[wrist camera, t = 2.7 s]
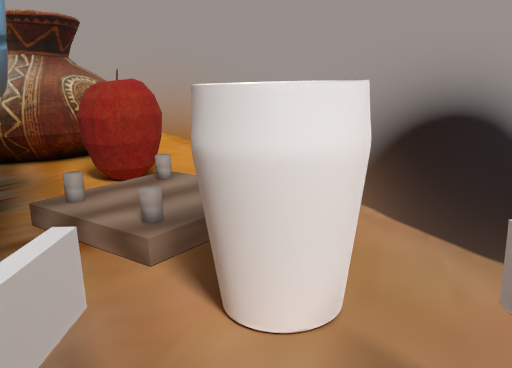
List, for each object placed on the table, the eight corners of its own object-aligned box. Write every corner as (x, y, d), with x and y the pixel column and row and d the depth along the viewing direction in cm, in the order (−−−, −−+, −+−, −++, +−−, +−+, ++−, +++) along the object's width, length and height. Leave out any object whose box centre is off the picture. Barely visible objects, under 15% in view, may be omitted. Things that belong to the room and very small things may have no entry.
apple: (165, 167, 63) (157, 68, 60) (168, 182, 54) (159, 66, 50) (90, 172, 61) (77, 70, 58) (79, 189, 51) (64, 67, 48)
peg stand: (32, 224, 39) (24, 175, 38) (167, 187, 51) (164, 149, 50) (150, 266, 29) (144, 202, 28) (281, 208, 42) (280, 162, 41)
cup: (167, 327, 22) (148, 86, 19) (244, 259, 30) (238, 82, 27) (344, 370, 19) (351, 81, 16) (377, 280, 27) (386, 78, 24)
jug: (155, 154, 75) (142, -2, 69) (-58, 180, 59) (-98, -21, 53) (106, 138, 99) (94, 21, 93) (-54, 153, 83) (-81, 13, 77)
